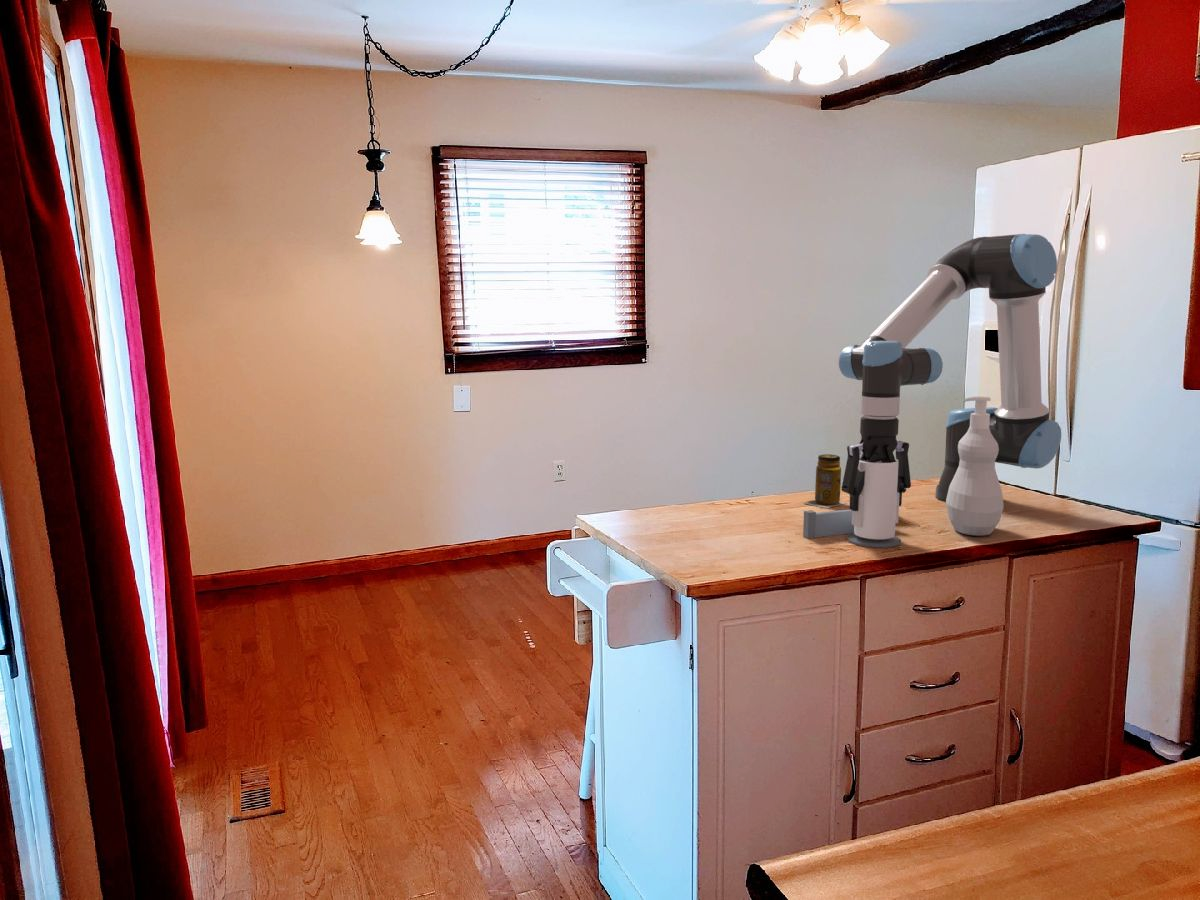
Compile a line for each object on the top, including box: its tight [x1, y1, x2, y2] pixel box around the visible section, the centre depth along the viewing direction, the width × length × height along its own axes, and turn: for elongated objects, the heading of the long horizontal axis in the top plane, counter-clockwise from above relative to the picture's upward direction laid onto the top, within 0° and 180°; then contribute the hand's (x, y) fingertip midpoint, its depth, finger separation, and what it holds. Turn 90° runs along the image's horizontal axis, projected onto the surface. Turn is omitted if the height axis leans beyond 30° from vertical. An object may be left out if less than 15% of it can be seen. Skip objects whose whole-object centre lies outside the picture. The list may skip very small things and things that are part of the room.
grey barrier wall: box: [802, 508, 854, 539], centre depth 194 cm, size 22×2×6 cm, turn 110°
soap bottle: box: [945, 396, 1005, 537], centre depth 193 cm, size 17×12×29 cm
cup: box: [854, 456, 898, 539], centre depth 187 cm, size 8×8×16 cm
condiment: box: [803, 453, 847, 509], centre depth 221 cm, size 7×8×12 cm
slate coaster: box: [846, 533, 902, 549], centre depth 188 cm, size 11×11×1 cm
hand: (874, 523), depth 188 cm, fingers closed on cup, 8 cm apart
